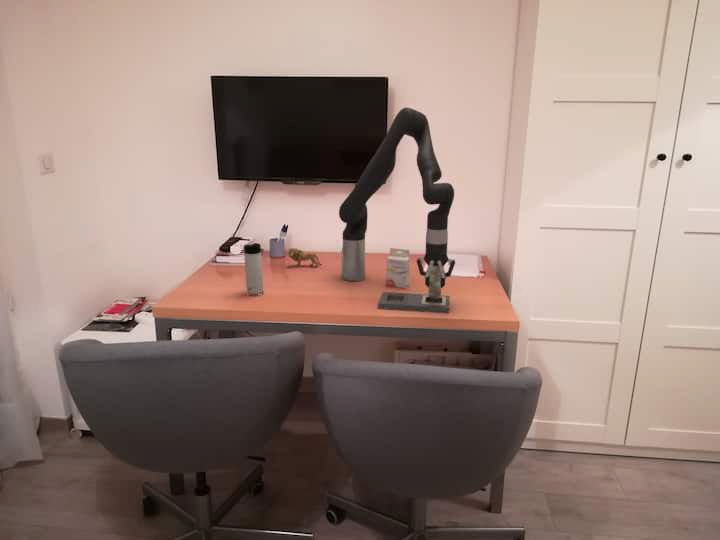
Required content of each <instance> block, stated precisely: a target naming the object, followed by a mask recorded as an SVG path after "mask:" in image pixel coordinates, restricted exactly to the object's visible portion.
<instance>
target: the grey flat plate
mask: <svg viewBox="0 0 720 540" xmlns="http://www.w3.org/2000/svg"><path fill="white" fill-rule="evenodd" d="M428 296H429V294H428V293H426V294H424V293H410V292H409V293H407V292H393V291H392V292H390V291H382V292H381V295H380V298H379V300H378V303H377V309H379V308H386V309H385V310H394V309H401V310H400V311H409V310H413V311H412V312H424V311H429V312H428V313H439V312H442V313H441V314H449V312H450V297H451V296H450V295H443V294H441V297H440V298H438V299H432V298H429V297H428ZM397 300H400V301H397ZM428 302H429V303H428Z"/></svg>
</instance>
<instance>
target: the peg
mask: <svg viewBox="0 0 720 540" xmlns="http://www.w3.org/2000/svg"><path fill="white" fill-rule="evenodd" d="M429 269H430V268H429ZM441 278H442V275H441V272H440V266H431V271H430V274H429V287H428V295H429V296H428V297H429V298H432V299H438V298H440V297H441V295H442V288H441Z"/></svg>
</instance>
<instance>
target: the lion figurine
mask: <svg viewBox="0 0 720 540" xmlns="http://www.w3.org/2000/svg"><path fill="white" fill-rule="evenodd" d="M288 257H289V258H290V259H292V260H293V261H294V262H297V265H296V267H298V269H300V268H301V263H302V261H303V262H306V261H309V260H310V261H311V263H310V264H309V266H310V267H311V266H314V265H315V266H314V268H315V269H317V268H319V266H322V265H323V264H322V263H321V262H320V261H319V258H318V256H317V254H316V253H315V252H313V251H312V252H303V251H302V250H300V249H298V248H296V247H290V249H288Z"/></svg>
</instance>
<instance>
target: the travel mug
mask: <svg viewBox="0 0 720 540" xmlns="http://www.w3.org/2000/svg"><path fill="white" fill-rule="evenodd" d="M243 250H244V251H243V254H244V256H243V257H244V264H245V265H244V267H245V269H244V270H245V282H246V283H245V284H246V293H248V294H250V295H258V294H261V293H263V292H264V281H263V280H264V279H263V278H264V277H263V262H262V251H261V243H252V244H245V245H243ZM248 294H247V295H248ZM263 294H264V293H263ZM250 295H249V296H250Z"/></svg>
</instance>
